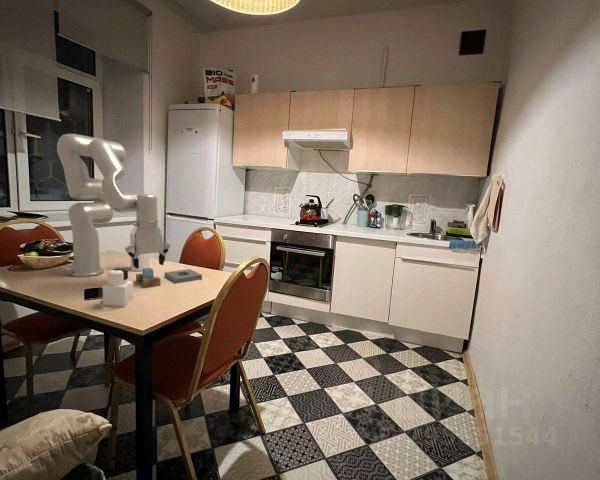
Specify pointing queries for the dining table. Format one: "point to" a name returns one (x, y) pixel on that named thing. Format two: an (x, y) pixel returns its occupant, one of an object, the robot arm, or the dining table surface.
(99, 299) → the dining table surface
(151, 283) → the brown notched block
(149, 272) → the plug
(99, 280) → the dining table surface
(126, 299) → the medicine bottle
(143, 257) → the bottle
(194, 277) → the port block
